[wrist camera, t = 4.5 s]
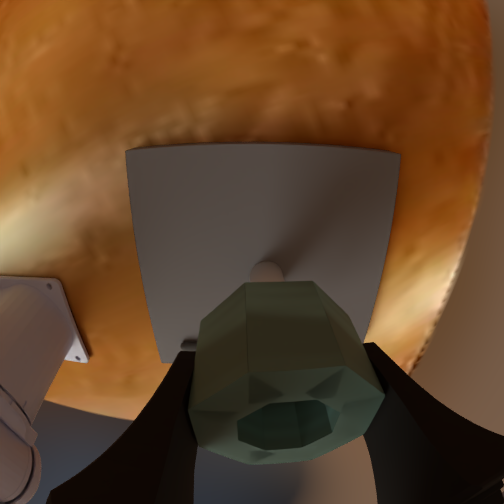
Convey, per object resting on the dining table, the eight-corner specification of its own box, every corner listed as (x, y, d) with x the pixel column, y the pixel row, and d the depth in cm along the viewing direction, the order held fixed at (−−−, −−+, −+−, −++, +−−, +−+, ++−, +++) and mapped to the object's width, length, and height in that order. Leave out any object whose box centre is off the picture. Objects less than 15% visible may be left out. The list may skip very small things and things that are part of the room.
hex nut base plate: (165, 348, 20) (150, 407, 15) (135, 147, 14) (88, 164, 9) (353, 343, 21) (376, 398, 16) (388, 150, 15) (445, 169, 10)
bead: (210, 387, 12) (204, 464, 9) (196, 283, 10) (177, 371, 6) (331, 381, 13) (352, 453, 9) (356, 278, 10) (403, 356, 7)
